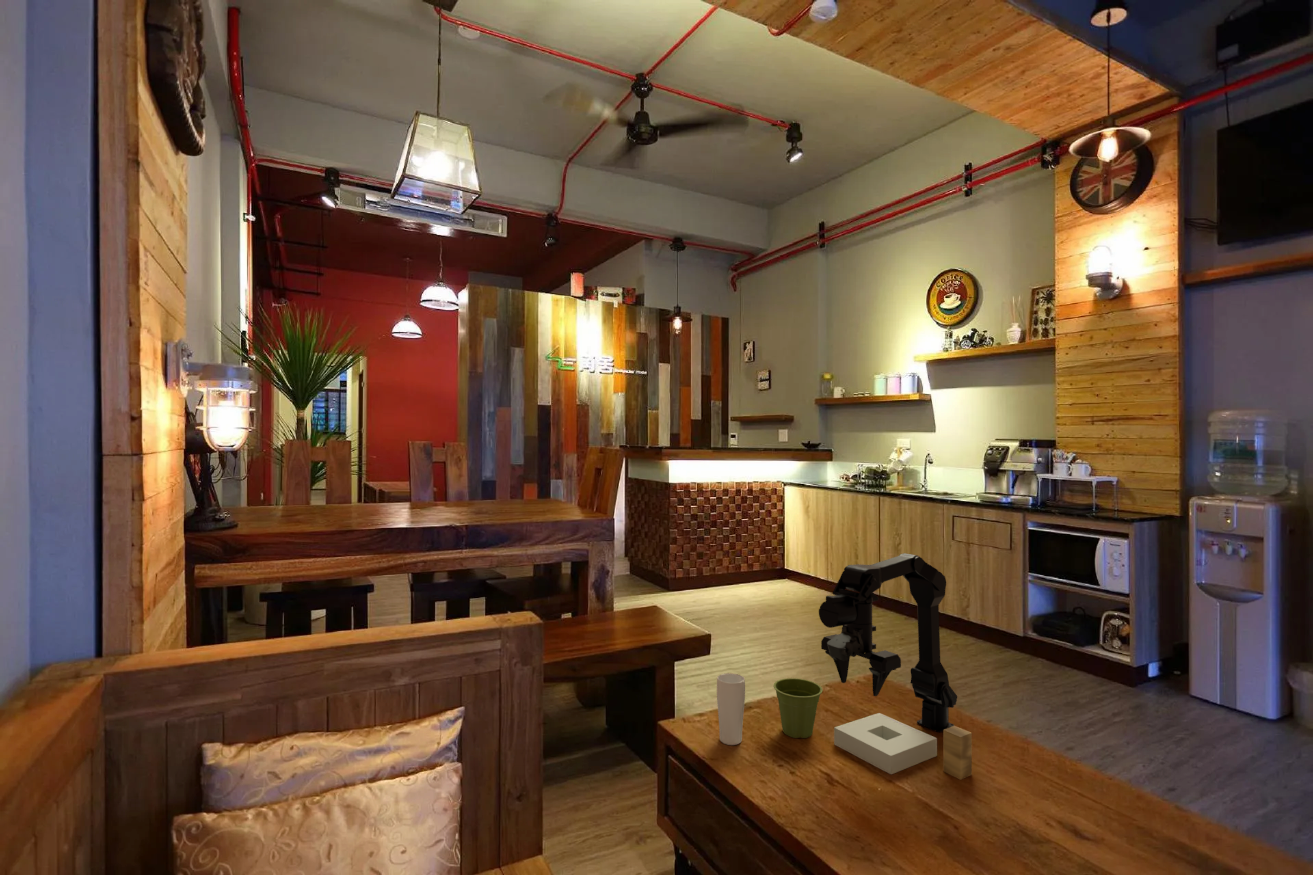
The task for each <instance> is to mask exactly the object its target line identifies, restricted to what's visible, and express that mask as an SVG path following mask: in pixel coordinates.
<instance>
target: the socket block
mask: <svg viewBox="0 0 1313 875" xmlns="http://www.w3.org/2000/svg"><path fill="white" fill-rule="evenodd" d="M833 742H834V743H833V744H834V746H836V747H839V748H840V749H842V750H844V751H846V752H848V753H850V755H851V754H852V755H853V756H856V757H857V758H859V759H861V760H863V761H865V762H866V763H868V764H869V765H870V764H871V765H872V766H874V767H875V768H878V769H880V770H882V771H883V772H885V773H887V774H889V775H894V774H895V773H899V772H901V771H903V770H905V769H908V768H911V767H913V766H915V765H918V764H921V763H923V762H926V761H928V760H930V759H933V758H935V757H937V756H938V738H937V737H935V736H932V735H931V734H928V733H927V732H924V731H921V730H919V729H917V728H914V727H912V726H910V725H908V724H906V723H903V722H901V721H898V720H896V719H894V718H892V717H890V716H888V715H885V714H883V713H880V712H878V713H874V714H870V715H869V716H866V717H865V716H864V717H863V718H858V719H856V720H853V721H850V722H847V723H843V724H841V725H838V726H834V727H833Z"/></svg>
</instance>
